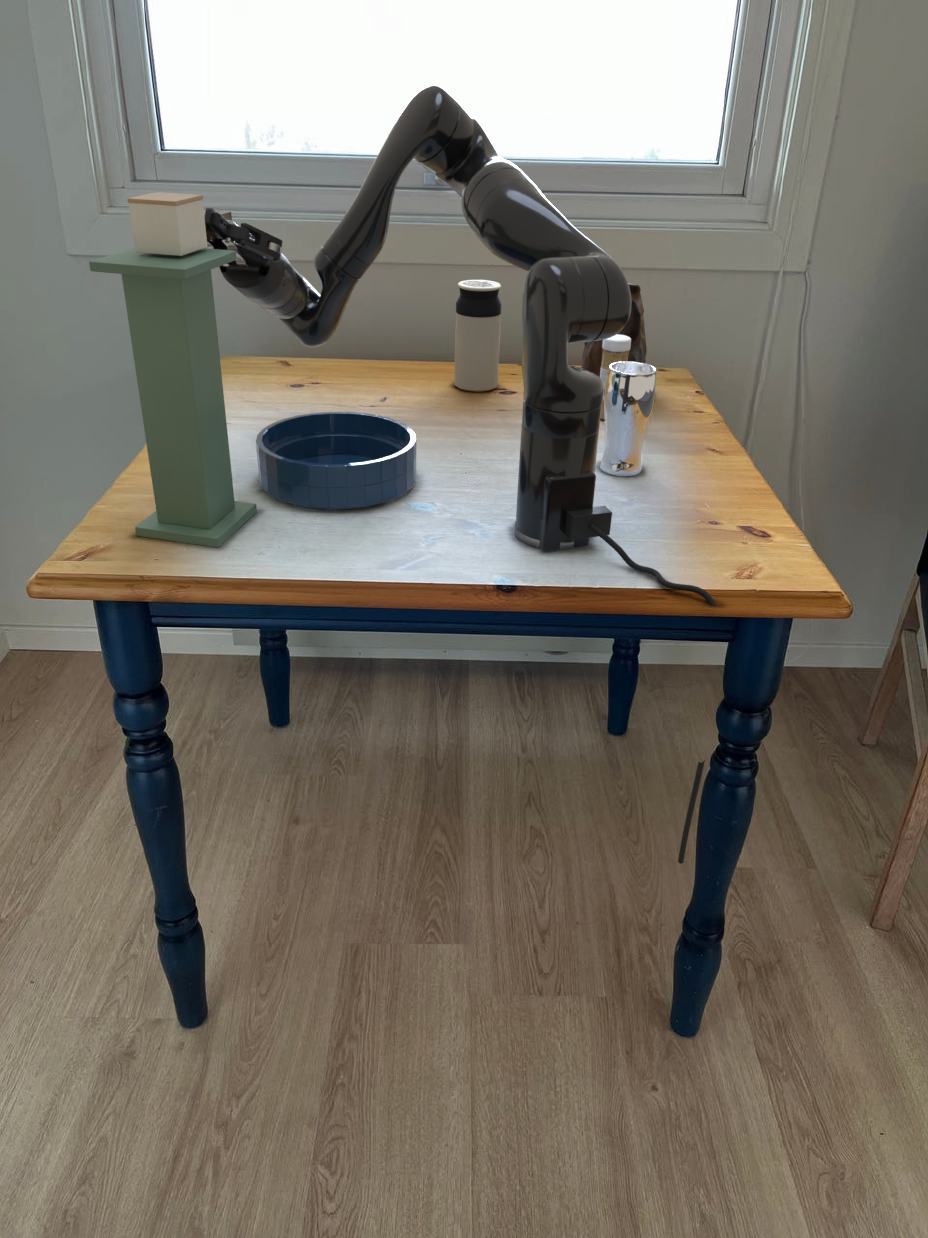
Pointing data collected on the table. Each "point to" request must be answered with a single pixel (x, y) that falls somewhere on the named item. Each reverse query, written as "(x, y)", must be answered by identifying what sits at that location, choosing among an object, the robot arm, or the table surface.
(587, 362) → the owl
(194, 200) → the mallet with brown handle
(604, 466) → the beer glass
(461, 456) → the table surface
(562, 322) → the robot arm
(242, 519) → the stand
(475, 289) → the travel mug
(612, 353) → the sprinkles bottle
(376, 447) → the bowl
